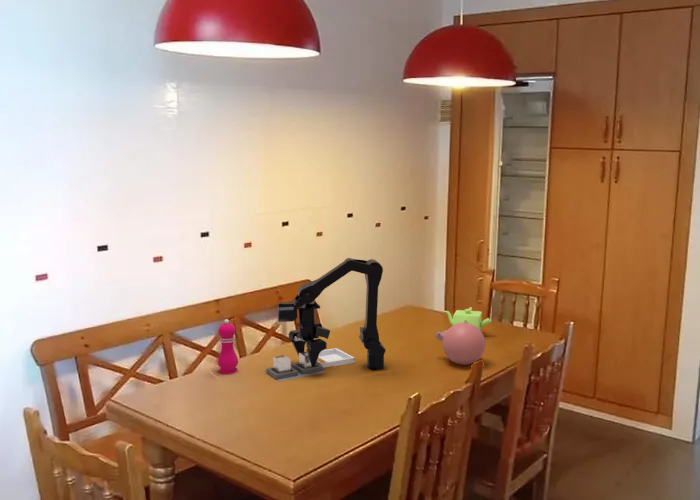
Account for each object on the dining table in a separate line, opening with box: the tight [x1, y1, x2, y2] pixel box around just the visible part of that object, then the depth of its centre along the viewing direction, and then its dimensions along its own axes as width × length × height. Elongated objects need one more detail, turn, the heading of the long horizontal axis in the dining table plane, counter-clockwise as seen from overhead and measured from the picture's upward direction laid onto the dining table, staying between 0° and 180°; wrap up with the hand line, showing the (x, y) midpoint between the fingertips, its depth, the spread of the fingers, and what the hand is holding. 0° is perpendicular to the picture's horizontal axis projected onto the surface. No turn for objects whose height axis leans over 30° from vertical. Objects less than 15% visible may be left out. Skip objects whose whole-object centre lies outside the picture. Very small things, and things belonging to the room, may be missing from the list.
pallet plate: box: [264, 362, 326, 382], centre depth 262 cm, size 12×18×3 cm, turn 120°
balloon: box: [434, 323, 486, 366], centre depth 273 cm, size 15×20×15 cm
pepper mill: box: [217, 319, 239, 375], centre depth 261 cm, size 7×7×20 cm
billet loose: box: [298, 350, 316, 369], centre depth 264 cm, size 4×4×6 cm
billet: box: [272, 355, 292, 374], centre depth 259 cm, size 4×4×6 cm
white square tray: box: [316, 347, 356, 369], centre depth 275 cm, size 14×14×2 cm
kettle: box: [443, 306, 492, 332], centre depth 309 cm, size 15×14×11 cm
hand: (307, 363), depth 264 cm, fingers open, 9 cm apart
